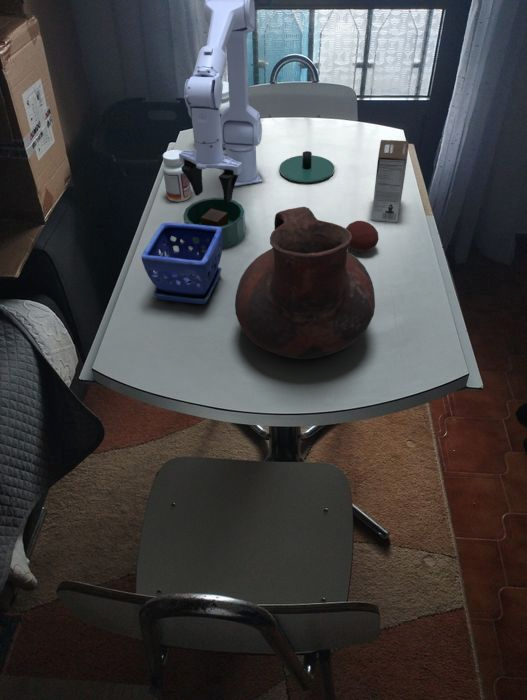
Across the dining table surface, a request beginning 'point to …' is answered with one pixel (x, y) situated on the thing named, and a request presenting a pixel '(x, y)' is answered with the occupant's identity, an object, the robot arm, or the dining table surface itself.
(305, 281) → the jug
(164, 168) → the pill bottle
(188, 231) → the flower pot
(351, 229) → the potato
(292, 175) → the tin lid
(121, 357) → the dining table surface
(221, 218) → the block
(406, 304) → the dining table surface
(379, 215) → the coffee box
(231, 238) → the tin
